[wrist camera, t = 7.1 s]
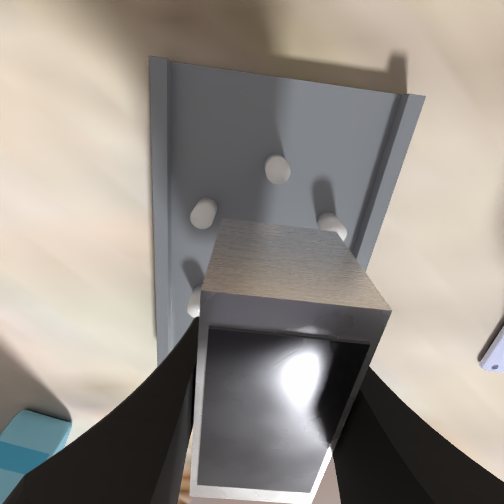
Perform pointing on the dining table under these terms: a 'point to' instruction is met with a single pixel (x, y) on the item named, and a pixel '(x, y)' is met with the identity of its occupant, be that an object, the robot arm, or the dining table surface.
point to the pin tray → (262, 167)
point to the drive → (278, 359)
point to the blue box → (28, 446)
